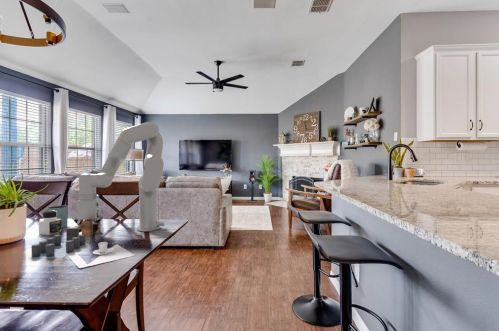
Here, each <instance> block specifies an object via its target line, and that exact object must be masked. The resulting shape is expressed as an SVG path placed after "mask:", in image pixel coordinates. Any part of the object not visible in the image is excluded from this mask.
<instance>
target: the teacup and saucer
mask: <svg viewBox="0 0 499 331" xmlns="http://www.w3.org/2000/svg"><path fill="white" fill-rule="evenodd" d="M115 250H116V249H115V248H114V247H112V246H111V247H108V241H101V242H99V243H98V249H95V250H93V251H92V254H94V255H98V256H100V255H107V254H111V253H113V252H114V251H115Z"/></svg>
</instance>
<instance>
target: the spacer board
mask: <svg viewBox="0 0 499 331" xmlns="http://www.w3.org/2000/svg"><path fill="white" fill-rule="evenodd" d="M86 244H88V242H86V237H85V234H82V233H80V234H79V235H78V237H75V238H72V240H69V241H65V242H62V235H61V234H54V235H52V237H48V238H46V240H42V241H39V243H35V244H32V245H31V256H30V257H28V258H27V260H38V259H39V260H40V259H42V260H43V259H46V260H47V259H63V258H65V257H68V255H67V254H71V253H75V251H76V250H78V249H80V248H82V247H83V246H85V245H86Z"/></svg>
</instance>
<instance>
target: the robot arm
mask: <svg viewBox="0 0 499 331" xmlns="http://www.w3.org/2000/svg"><path fill="white" fill-rule="evenodd" d="M145 140H146V142H147V145H146V151H145V156H144V159H143V167H144V168H143V171H142V172H143V174H142V175H141V176H140V177H139V179H138V194H139V195H138V196H139V197H138V198H139V202H138V205H139V207H138V208H139V209H138V210H139V212H138V214H139V216H138V217H139V219H138V221H139V226H136V231H138V232H153V231H157V230H159V229H160V228H161V227H164V226H165V224H166V223H165V222H164V221H160V219H158V189H159V187H160V184H161V180H162V176H163V171H164V160H163V158H162V155H163V149H164V139H163V137H162V135H161V133H160V129H159V126H158V125H157V123H155V122H153V121H147V122H144V123H140V124H137V125H133V126H129V127H127V128H123V129H122V130H121V132H120V133H119V135H118V137H117V139H116V140H115V142H114V144H113V146H112V147H111V149H110V151H109V153H108V154H107V157H106V160H105V162H104V164H103V166H102V167H101V169H100V170H99V172H98V173H81V174H79V176H78V194H79V195H78V200H77V203H76V209H75V211H76V212H75V213H74V214H73V215H72V216H71V217H70V219H71V220H73V221H74V223H75V224H76V226H78V225H80V224H82V221H84V220H93V222H94V225H93V232H96V231H98V223H99V222H101V221H102V220H104V218H105V215H104V214H102V212H101V208H100V203H99V200H98V199H99V198H100V195H99V194H97V188H108V187H110V186H111V185H112V183H113V180H114V177H115V176H116V173H117V172H118V170H119V168H120V167H121V166H122V164H124V162H125V161H126V159H127V158H128V155H129V154H130V151H131V150H132V148H133V147H134V144H135V143H139V142H142V141H145ZM81 233H82V229H80V230H79V234H81Z"/></svg>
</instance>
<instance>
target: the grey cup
mask: <svg viewBox="0 0 499 331" xmlns="http://www.w3.org/2000/svg"><path fill="white" fill-rule="evenodd" d="M51 210H55V211H57V218H56V219H61V229H64V228H68V213H69V206H68V205H66V204H65V205H54V206H53V205H52V206H48V207H46V211H51Z"/></svg>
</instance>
